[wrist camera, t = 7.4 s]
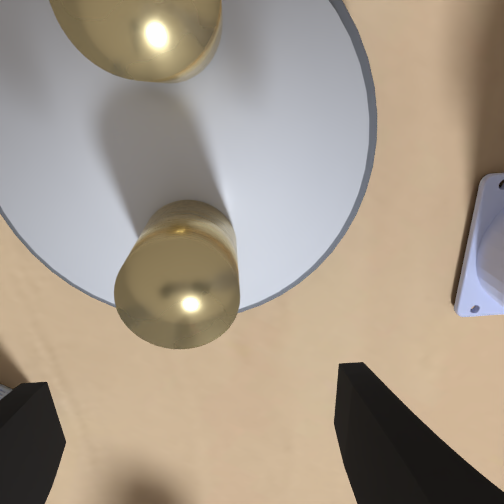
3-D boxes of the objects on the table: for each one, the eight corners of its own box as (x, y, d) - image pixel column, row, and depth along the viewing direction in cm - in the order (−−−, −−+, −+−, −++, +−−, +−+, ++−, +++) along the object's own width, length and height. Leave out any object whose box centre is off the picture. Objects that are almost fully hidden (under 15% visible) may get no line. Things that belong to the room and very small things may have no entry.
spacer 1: (218, -56, 12) (213, -131, 8) (226, 81, 14) (226, 77, 10) (91, -52, 12) (21, -127, 8) (115, 85, 13) (66, 84, 9)
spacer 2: (229, 193, 15) (231, 232, 11) (242, 279, 17) (247, 340, 13) (132, 206, 15) (98, 249, 11) (154, 291, 17) (131, 356, 13)
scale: (382, -166, 13) (424, -234, 10) (349, 288, 20) (368, 319, 18) (-91, -159, 12) (-181, -230, 10) (50, 308, 20) (21, 344, 17)
